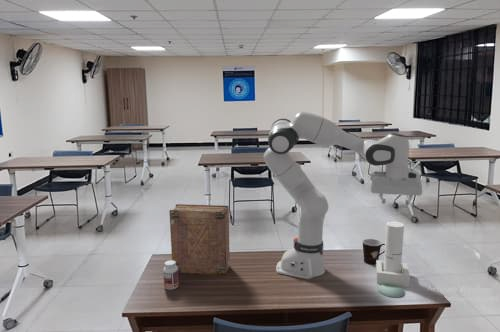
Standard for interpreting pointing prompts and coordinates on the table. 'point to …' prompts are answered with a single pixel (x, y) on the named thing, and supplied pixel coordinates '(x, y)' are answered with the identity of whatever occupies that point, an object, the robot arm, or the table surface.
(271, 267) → the table surface
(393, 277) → the holder
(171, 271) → the pill bottle
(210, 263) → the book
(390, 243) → the cylindrical container
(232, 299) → the table surface
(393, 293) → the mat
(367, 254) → the coffee mug
